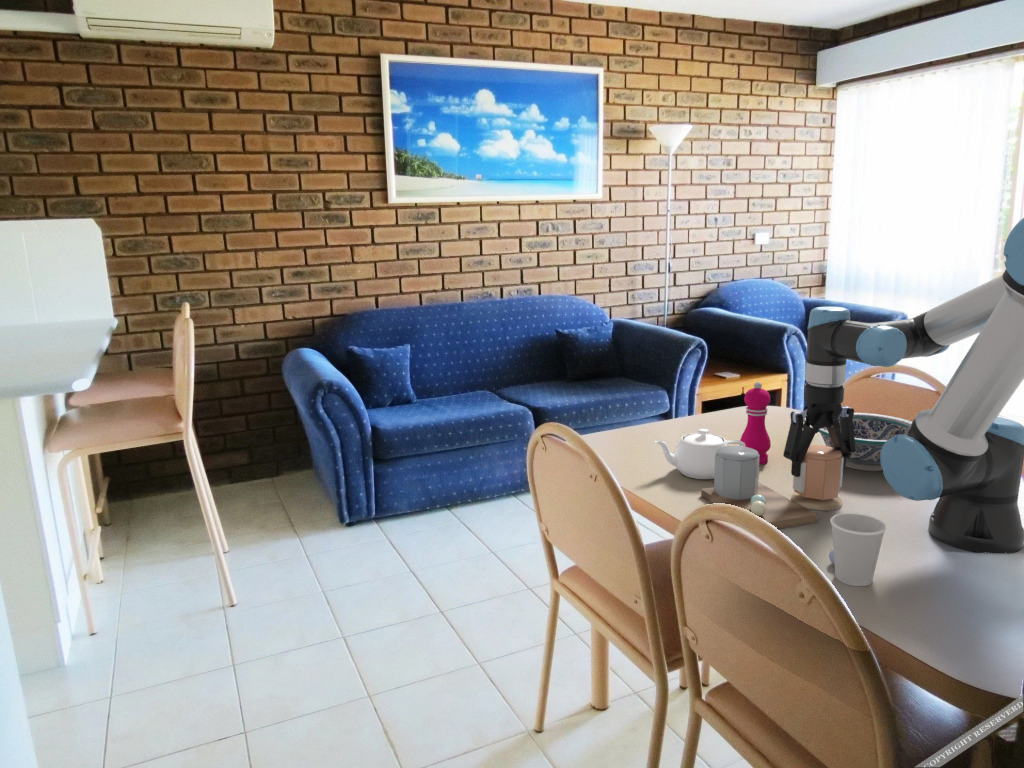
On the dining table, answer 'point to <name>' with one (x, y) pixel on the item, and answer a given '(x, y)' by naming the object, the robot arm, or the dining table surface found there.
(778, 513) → the board
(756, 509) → the marble
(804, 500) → the coaster
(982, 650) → the dining table surface
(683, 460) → the teapot
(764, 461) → the pepper mill
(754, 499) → the marble
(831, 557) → the marble
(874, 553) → the dixie cup
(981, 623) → the dining table surface
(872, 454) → the bowl
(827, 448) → the peach faceted canister
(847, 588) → the dining table surface
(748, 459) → the grey faceted canister
